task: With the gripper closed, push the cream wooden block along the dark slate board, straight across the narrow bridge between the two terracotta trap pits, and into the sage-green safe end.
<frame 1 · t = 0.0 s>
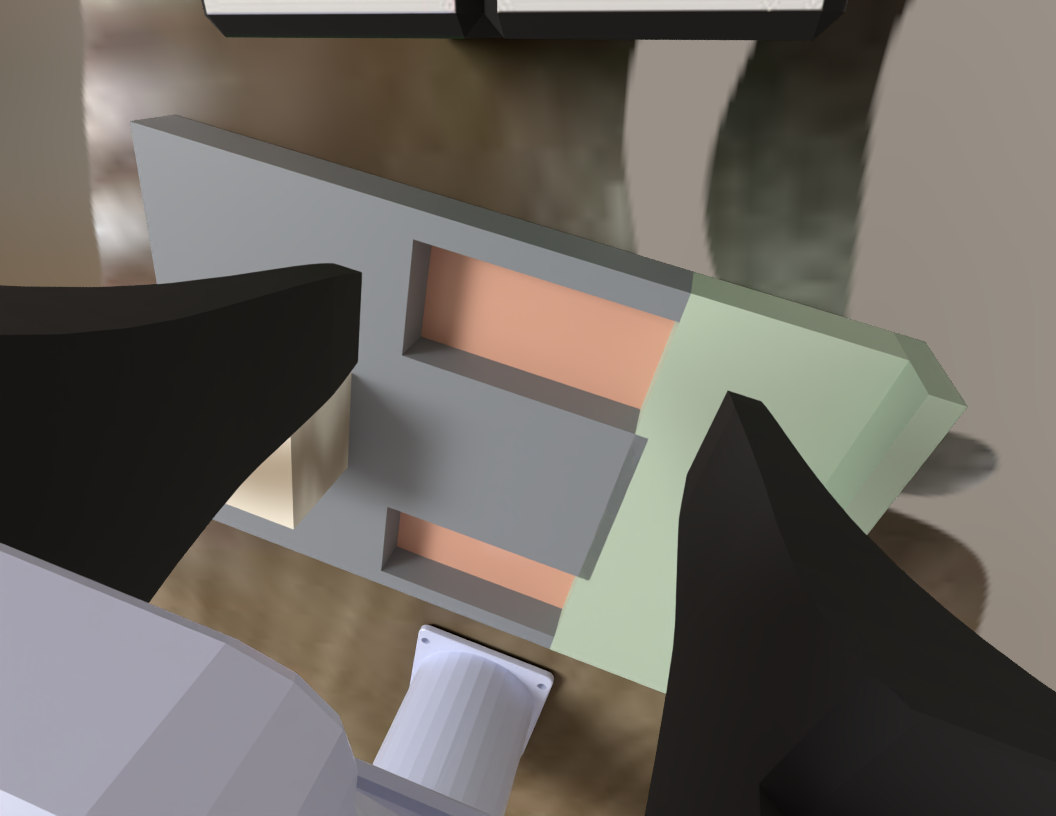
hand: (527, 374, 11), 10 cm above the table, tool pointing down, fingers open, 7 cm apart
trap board: (478, 435, 26), on the table
cream block: (295, 403, 25), point 2 cm above the table, touching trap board
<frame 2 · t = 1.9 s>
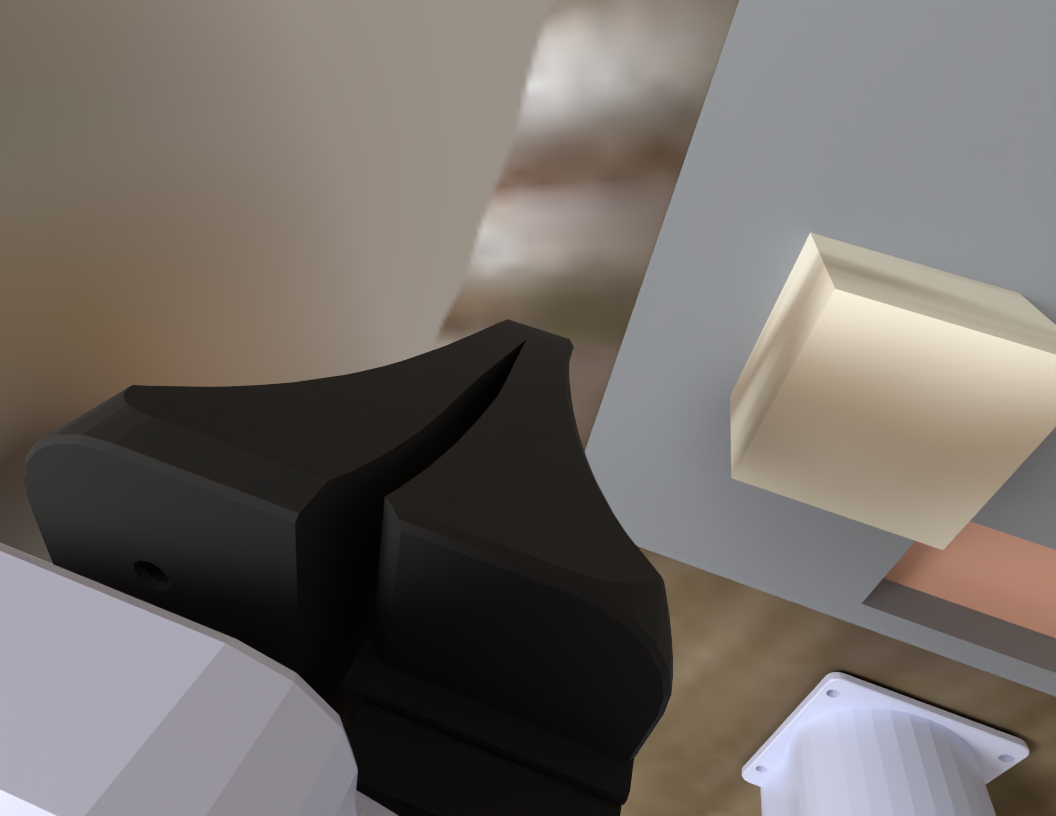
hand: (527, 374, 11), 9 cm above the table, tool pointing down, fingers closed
cream block: (858, 349, 16), point 2 cm above the table, touching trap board
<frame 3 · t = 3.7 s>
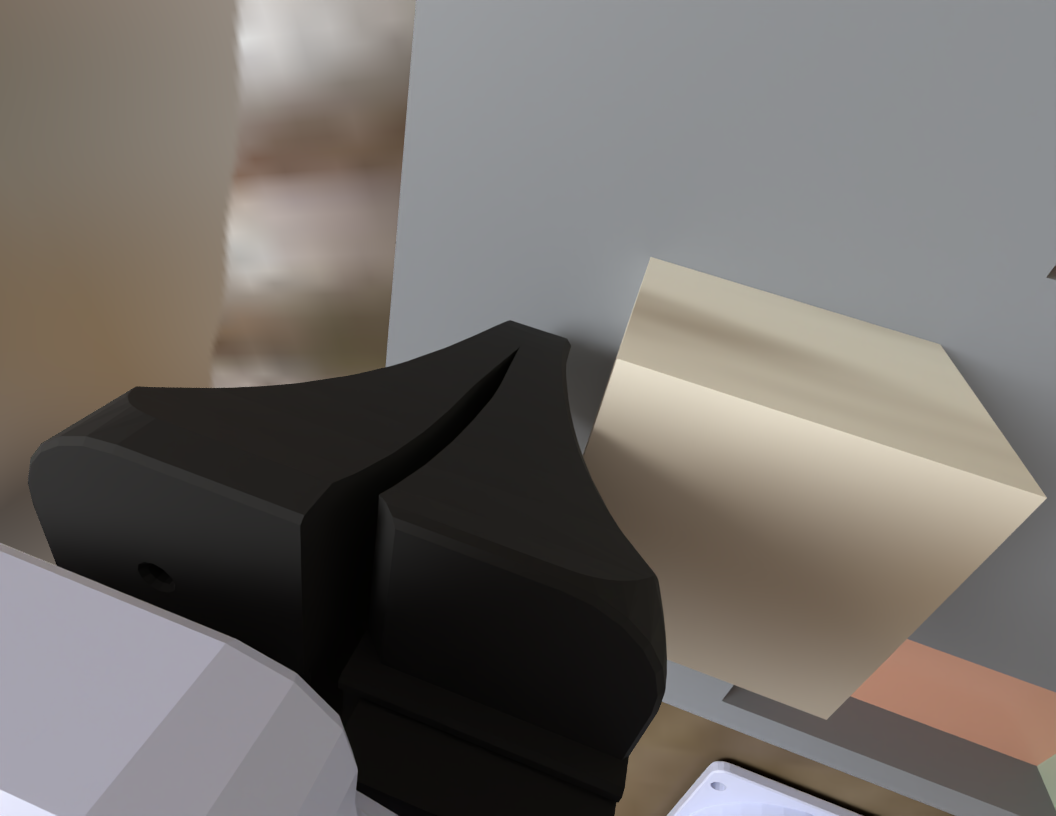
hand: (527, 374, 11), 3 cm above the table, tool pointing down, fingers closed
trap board: (1017, 461, 13), on the table
cream block: (732, 414, 12), point 2 cm above the table, touching gripper
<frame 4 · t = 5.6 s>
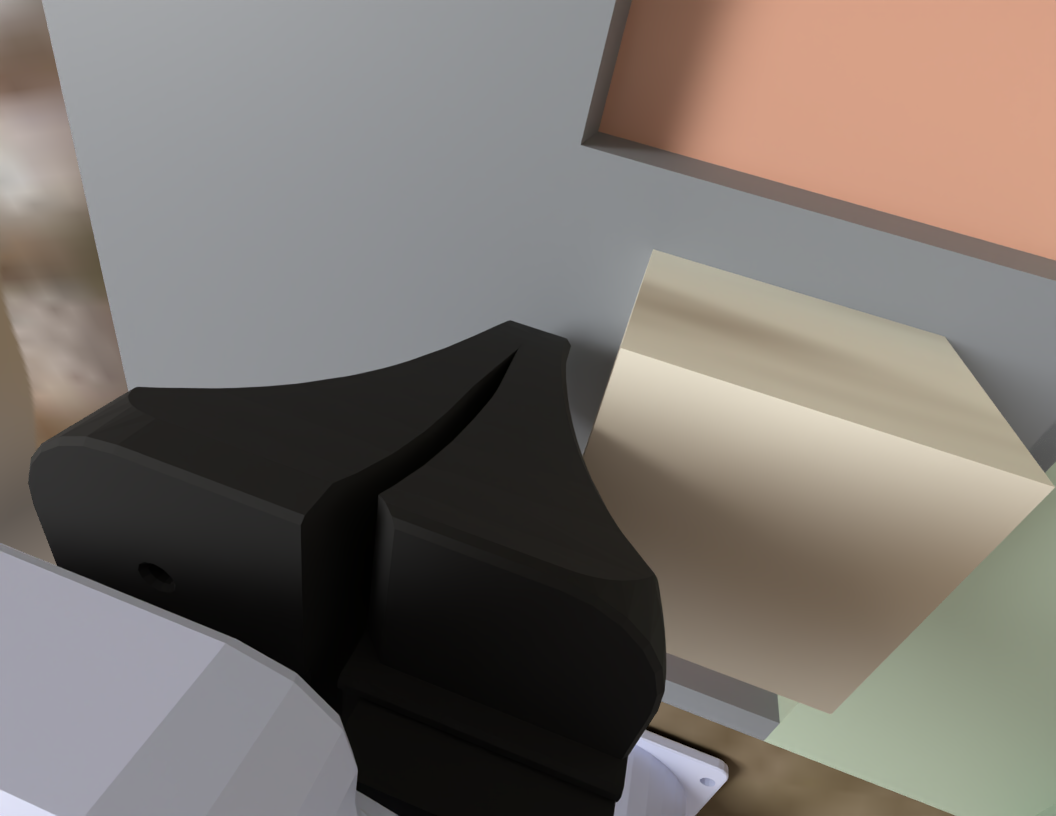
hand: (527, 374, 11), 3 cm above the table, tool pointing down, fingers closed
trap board: (679, 353, 13), on the table
cream block: (735, 408, 11), point 2 cm above the table, touching gripper, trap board
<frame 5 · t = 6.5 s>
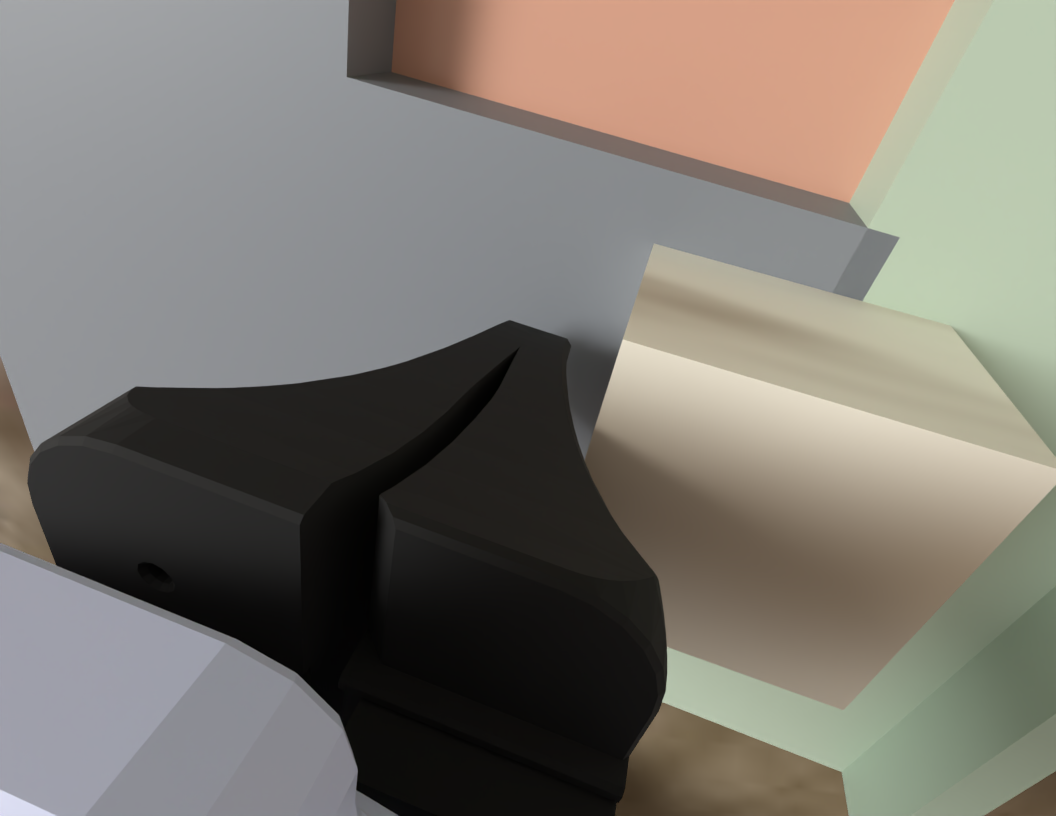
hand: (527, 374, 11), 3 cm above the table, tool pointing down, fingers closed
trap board: (501, 296, 14), on the table
cream block: (740, 403, 11), point 2 cm above the table, touching gripper, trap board
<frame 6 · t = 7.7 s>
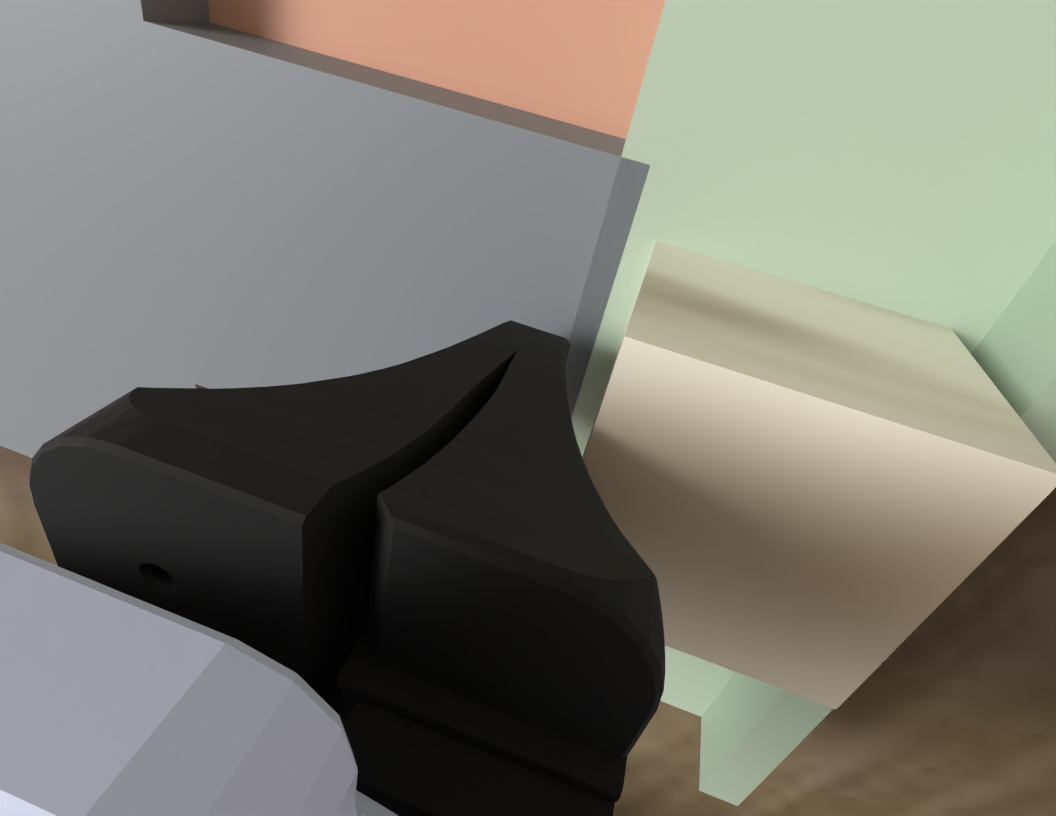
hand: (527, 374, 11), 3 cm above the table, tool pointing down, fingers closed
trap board: (345, 247, 14), on the table
cream block: (739, 402, 11), point 2 cm above the table, touching gripper, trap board
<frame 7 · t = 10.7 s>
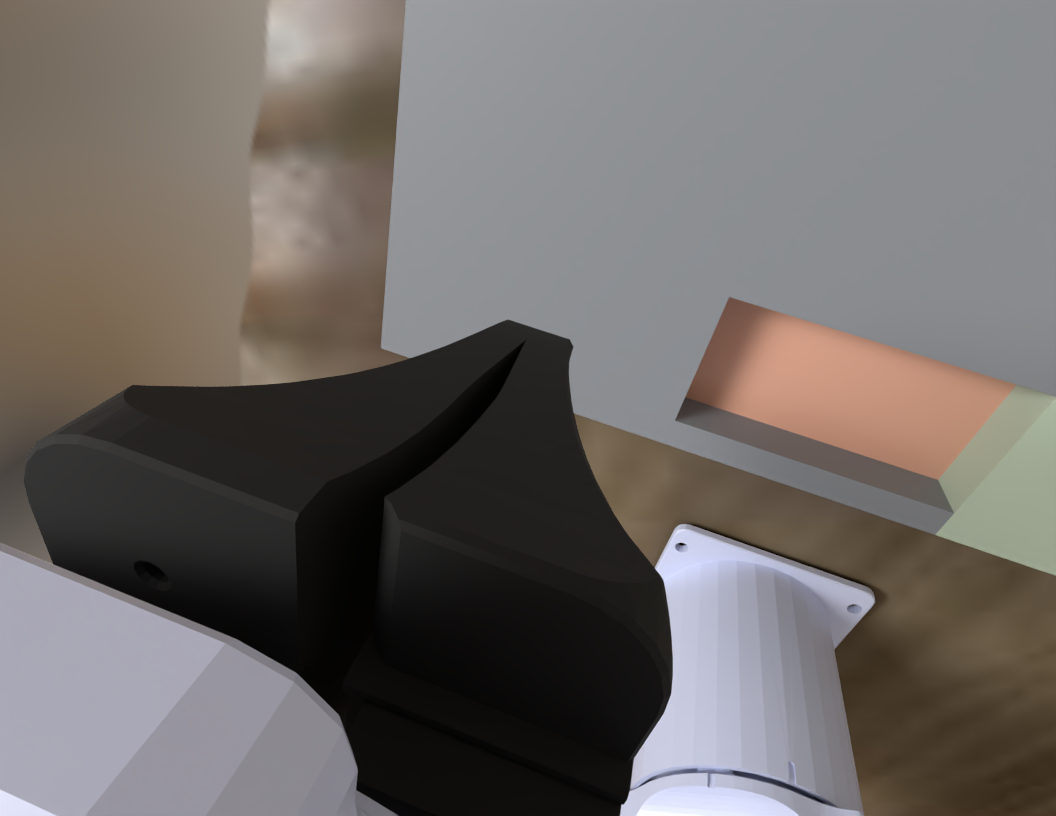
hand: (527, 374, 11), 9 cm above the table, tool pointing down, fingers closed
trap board: (897, 169, 16), on the table
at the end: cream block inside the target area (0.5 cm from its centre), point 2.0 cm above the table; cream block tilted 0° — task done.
